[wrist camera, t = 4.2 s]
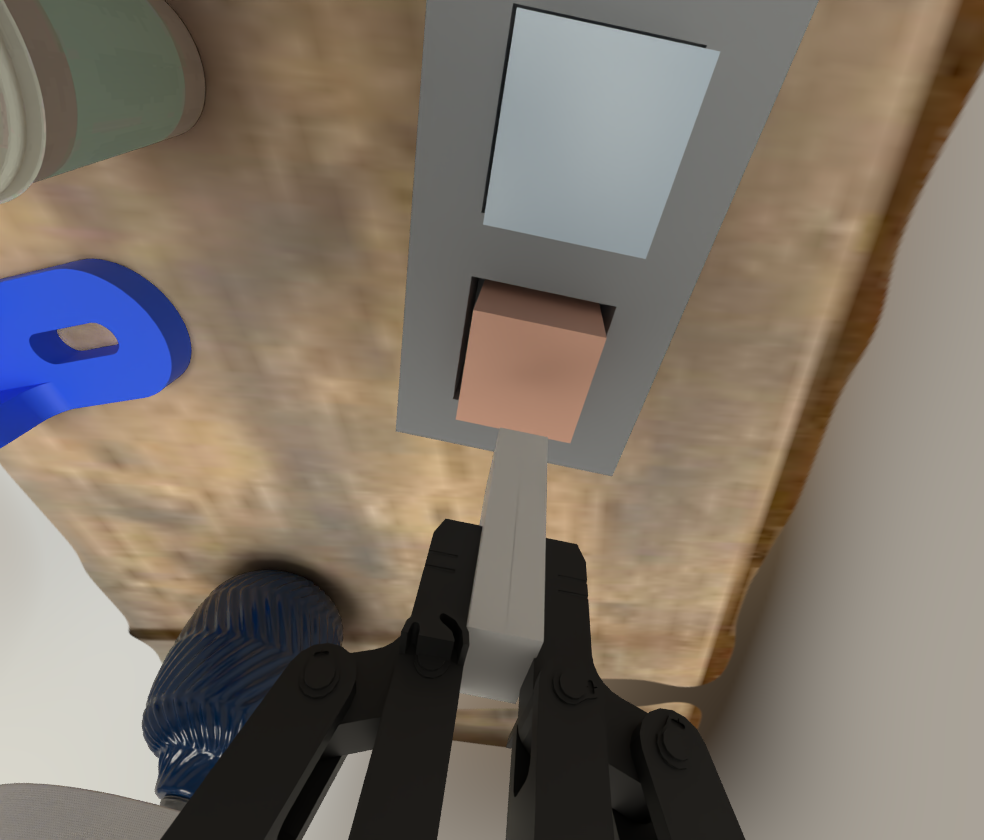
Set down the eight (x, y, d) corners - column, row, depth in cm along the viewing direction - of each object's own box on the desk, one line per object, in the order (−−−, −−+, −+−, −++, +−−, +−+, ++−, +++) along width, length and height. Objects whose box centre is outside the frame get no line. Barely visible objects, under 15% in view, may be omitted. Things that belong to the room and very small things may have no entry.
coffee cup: (223, -41, 19) (-125, -184, 9) (244, 186, 24) (30, 248, 14) (13, -94, 19) (-568, -299, 9) (77, 145, 24) (-257, 180, 14)
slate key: (525, 27, 16) (516, 7, 12) (682, 61, 16) (720, 51, 12) (496, 199, 19) (483, 224, 15) (628, 228, 19) (645, 259, 15)
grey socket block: (511, -571, 13) (491, -895, 8) (951, -471, 13) (1142, -744, 9) (417, 384, 30) (395, 431, 26) (604, 423, 30) (612, 476, 26)
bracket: (10, 406, 35) (-135, 490, 28) (-87, 299, 30) (-292, 364, 23) (217, 373, 31) (112, 459, 24) (140, 245, 27) (-18, 302, 19)
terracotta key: (486, 275, 22) (473, 310, 19) (598, 299, 22) (606, 338, 19) (469, 373, 25) (455, 419, 22) (568, 394, 25) (570, 443, 22)
